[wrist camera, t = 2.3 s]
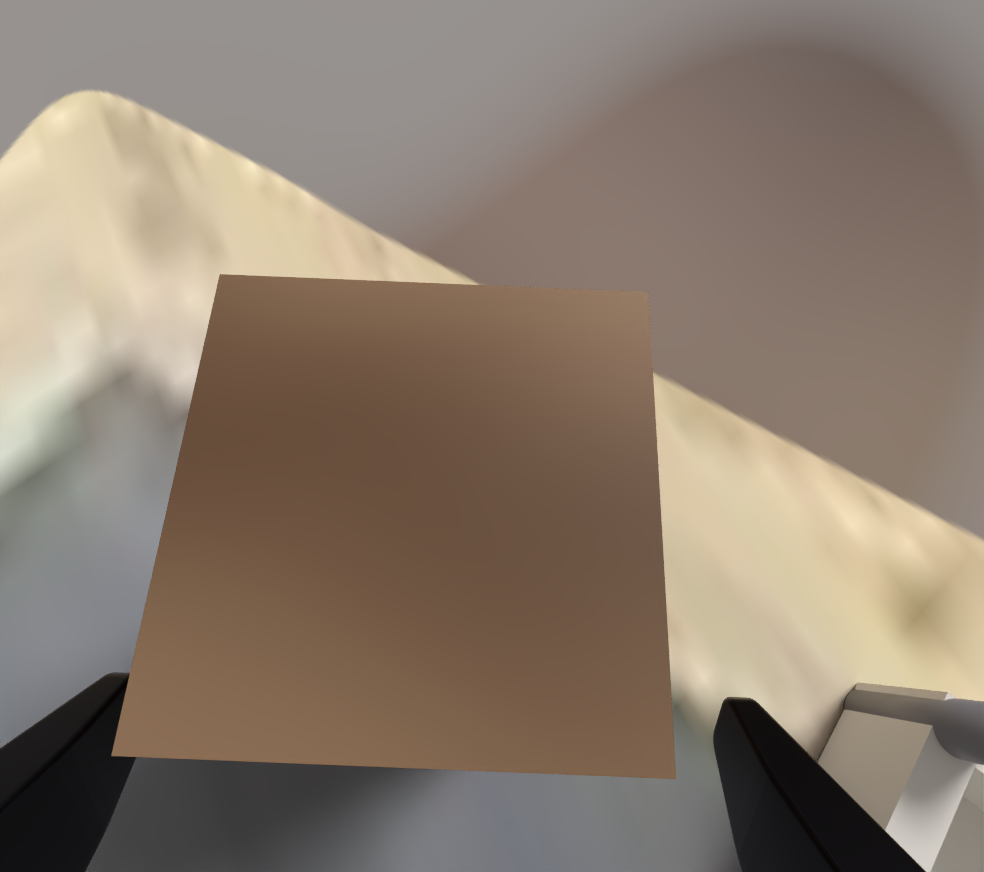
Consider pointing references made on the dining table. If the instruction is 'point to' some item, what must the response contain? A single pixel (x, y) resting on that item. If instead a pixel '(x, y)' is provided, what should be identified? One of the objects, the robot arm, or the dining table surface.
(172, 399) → the dining table surface
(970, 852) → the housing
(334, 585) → the brown block
